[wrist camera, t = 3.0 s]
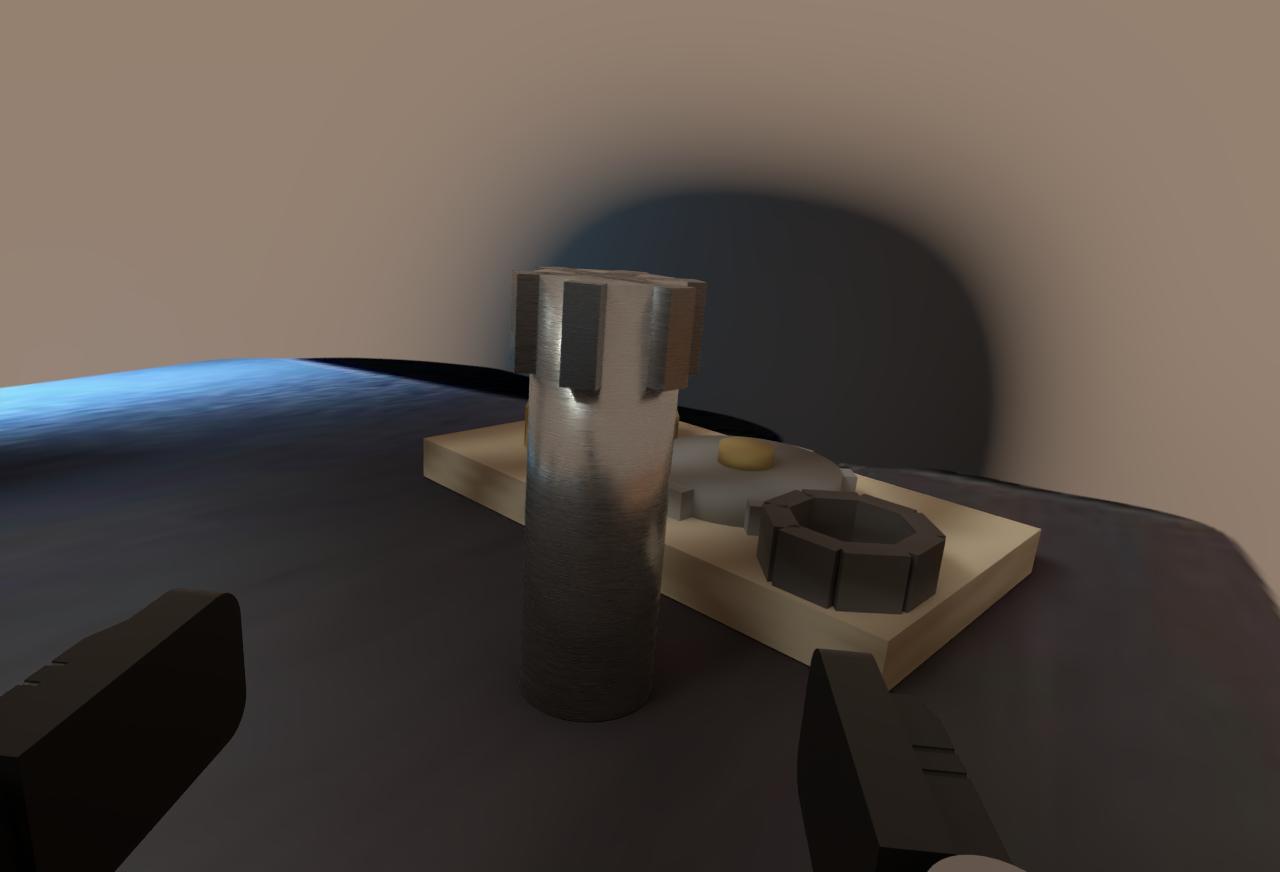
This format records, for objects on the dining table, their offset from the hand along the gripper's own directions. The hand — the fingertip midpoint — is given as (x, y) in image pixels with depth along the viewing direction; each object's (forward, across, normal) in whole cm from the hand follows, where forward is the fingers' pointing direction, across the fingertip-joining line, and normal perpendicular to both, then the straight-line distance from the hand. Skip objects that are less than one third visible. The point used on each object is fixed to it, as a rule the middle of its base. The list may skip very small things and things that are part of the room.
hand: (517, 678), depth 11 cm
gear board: (+25, -4, +7) cm, 26 cm away
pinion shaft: (+11, 0, +7) cm, 14 cm away
